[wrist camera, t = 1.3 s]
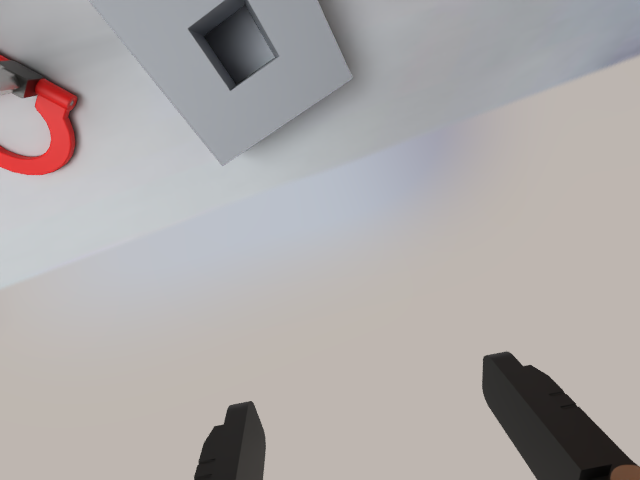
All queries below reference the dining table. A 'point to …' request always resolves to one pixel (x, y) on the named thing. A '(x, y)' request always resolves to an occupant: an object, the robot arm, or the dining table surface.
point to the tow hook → (53, 108)
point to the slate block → (212, 78)
